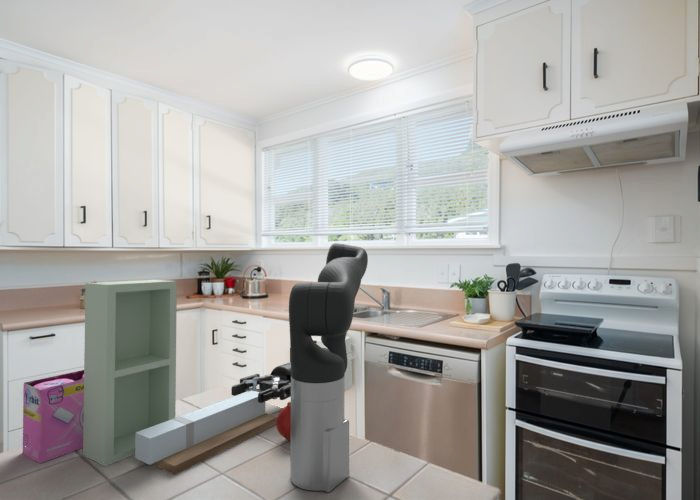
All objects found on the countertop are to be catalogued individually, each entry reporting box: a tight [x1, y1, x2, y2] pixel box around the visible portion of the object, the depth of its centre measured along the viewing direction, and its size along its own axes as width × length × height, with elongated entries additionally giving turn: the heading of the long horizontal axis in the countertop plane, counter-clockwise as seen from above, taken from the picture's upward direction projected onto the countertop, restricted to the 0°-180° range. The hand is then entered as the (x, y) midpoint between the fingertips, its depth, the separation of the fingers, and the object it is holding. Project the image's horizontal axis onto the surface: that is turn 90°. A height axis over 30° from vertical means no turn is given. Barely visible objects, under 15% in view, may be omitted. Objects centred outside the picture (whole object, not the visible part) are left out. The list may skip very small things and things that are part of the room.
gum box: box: [22, 369, 84, 464], centre depth 86 cm, size 24×8×14 cm, turn 148°
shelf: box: [82, 279, 178, 467], centre depth 81 cm, size 8×14×32 cm, turn 147°
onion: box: [275, 401, 291, 442], centre depth 84 cm, size 6×6×8 cm
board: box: [151, 412, 278, 476], centre depth 84 cm, size 12×26×2 cm, turn 147°
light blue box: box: [134, 390, 266, 466], centre depth 84 cm, size 5×28×5 cm, turn 147°
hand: (245, 394), depth 92 cm, fingers open, 8 cm apart
